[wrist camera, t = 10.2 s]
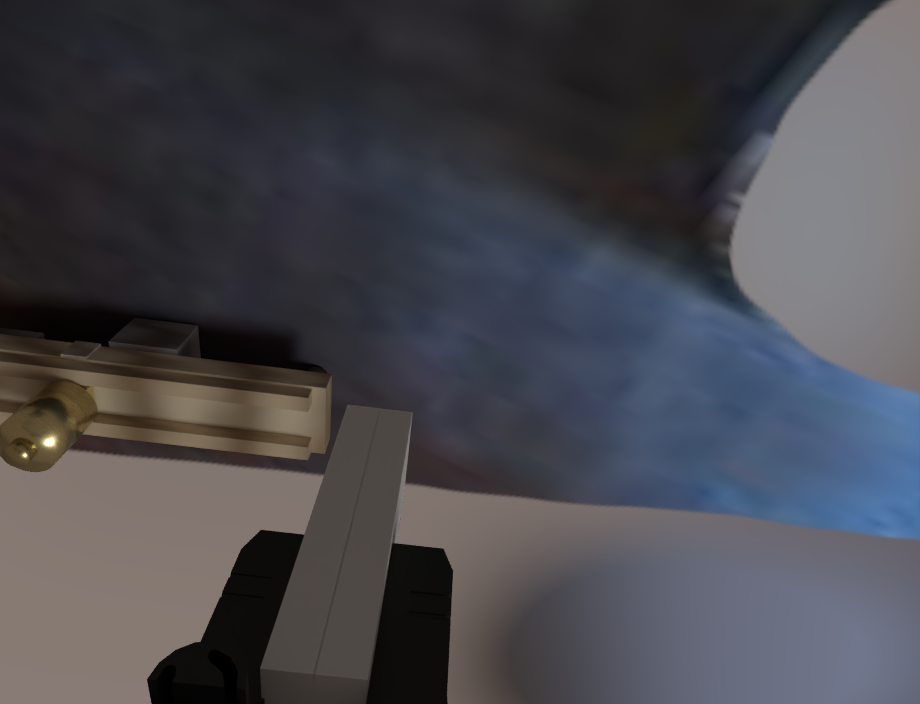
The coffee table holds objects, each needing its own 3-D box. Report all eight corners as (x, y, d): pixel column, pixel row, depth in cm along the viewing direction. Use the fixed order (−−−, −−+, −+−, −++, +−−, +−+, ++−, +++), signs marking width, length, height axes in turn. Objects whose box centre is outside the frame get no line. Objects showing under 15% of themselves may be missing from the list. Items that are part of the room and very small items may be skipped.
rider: (55, 414, 47) (-10, 478, 41) (45, 368, 45) (-26, 428, 39) (110, 420, 47) (53, 485, 41) (101, 375, 45) (40, 435, 39)
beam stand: (7, 375, 53) (-58, 425, 47) (-13, 299, 50) (-85, 342, 43) (339, 414, 54) (320, 468, 48) (342, 343, 51) (322, 391, 44)
